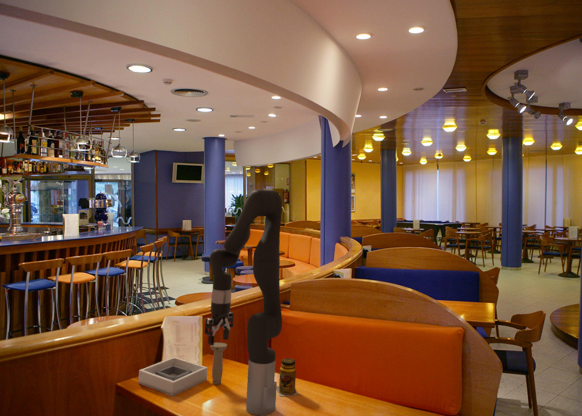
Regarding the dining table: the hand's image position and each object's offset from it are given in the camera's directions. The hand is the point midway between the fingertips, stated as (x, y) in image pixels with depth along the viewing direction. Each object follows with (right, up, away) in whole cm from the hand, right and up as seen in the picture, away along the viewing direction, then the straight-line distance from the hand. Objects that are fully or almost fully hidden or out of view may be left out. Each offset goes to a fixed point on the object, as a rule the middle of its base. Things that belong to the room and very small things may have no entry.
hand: (218, 342), depth 166 cm
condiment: (+26, -18, -3) cm, 32 cm away
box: (-17, -15, 0) cm, 23 cm away
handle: (-1, -16, 0) cm, 16 cm away
